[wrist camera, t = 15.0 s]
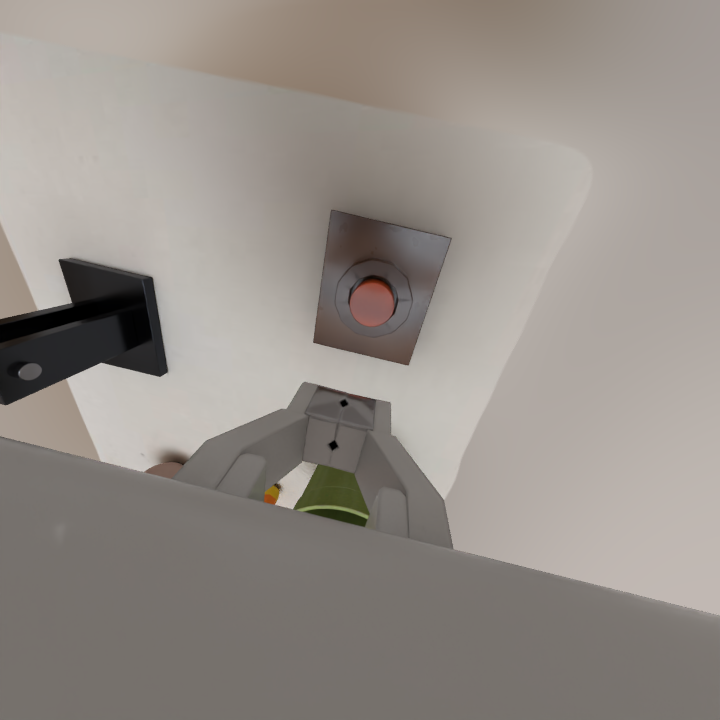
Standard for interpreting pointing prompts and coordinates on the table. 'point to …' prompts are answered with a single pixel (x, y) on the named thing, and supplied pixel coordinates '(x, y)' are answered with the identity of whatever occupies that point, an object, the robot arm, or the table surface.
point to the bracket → (82, 331)
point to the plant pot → (334, 496)
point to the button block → (382, 262)
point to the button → (372, 303)
